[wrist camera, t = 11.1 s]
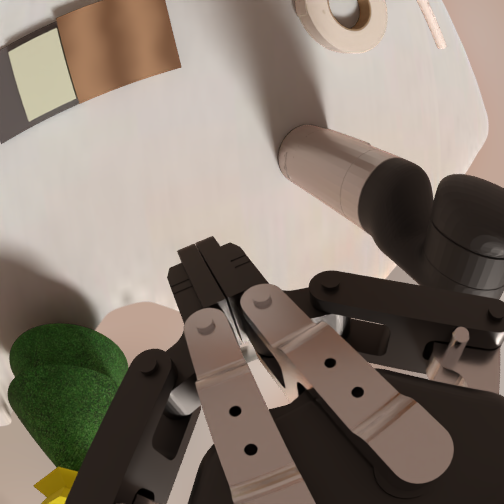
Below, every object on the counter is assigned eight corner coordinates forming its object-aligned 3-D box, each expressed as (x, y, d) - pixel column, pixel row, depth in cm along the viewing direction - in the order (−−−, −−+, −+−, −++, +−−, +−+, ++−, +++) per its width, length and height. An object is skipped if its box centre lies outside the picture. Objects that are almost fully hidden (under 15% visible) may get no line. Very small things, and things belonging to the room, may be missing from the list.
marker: (397, -32, 34) (407, -33, 32) (402, -34, 34) (412, -36, 32) (435, 48, 45) (445, 49, 43) (440, 44, 45) (449, 45, 43)
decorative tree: (145, 332, 50) (203, 505, 27) (86, 391, 51) (116, 540, 28) (48, 272, 38) (39, 485, 15) (-2, 348, 39) (-9, 519, 16)
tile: (59, 30, 24) (56, 27, 23) (77, 97, 29) (76, 98, 28) (12, 53, 23) (8, 52, 21) (32, 119, 28) (28, 121, 27)
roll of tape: (348, -47, 31) (360, -50, 28) (387, 32, 40) (400, 32, 38) (273, -18, 31) (284, -23, 29) (325, 70, 40) (337, 71, 38)
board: (158, -12, 26) (161, -16, 25) (177, 68, 33) (181, 67, 31) (58, 21, 24) (55, 18, 22) (81, 102, 30) (79, 103, 29)
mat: (66, 17, 24) (66, 17, 23) (89, 99, 30) (88, 99, 30) (-22, 64, 21) (-24, 64, 21) (2, 143, 28) (1, 144, 27)
